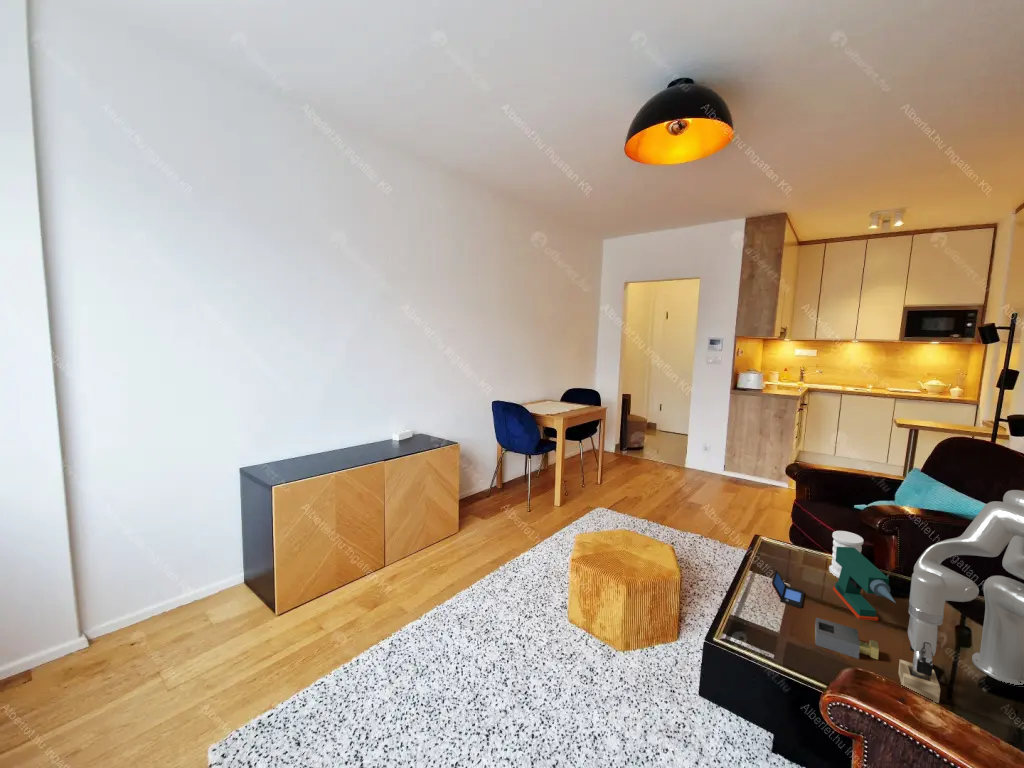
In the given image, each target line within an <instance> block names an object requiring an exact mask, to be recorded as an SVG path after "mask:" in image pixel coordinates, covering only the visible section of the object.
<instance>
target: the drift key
mask: <svg viewBox="0 0 1024 768" xmlns="http://www.w3.org/2000/svg"><path fill="white" fill-rule="evenodd" d="M859 644H860V650H859V654H862V655H866V656H869V658H872V659H875V660H879V655H880V654H879V652H880V651H879V650H880V648H879V643H878V641H877V640H873V639H869V642H868V643H867V642H864V641H860V640H859Z"/></svg>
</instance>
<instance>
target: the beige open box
mask: <svg viewBox="0 0 1024 768" xmlns="http://www.w3.org/2000/svg"><path fill="white" fill-rule="evenodd" d="M912 667H913V662H910V661H907V660H904V659H899V664H898V677H899V681H900V686H901V685H903V686H905V687H907V688H909V689H911V690H913V691H915V692H917V693H919V694H921V695H923V696H925V697H927V698H929V699H931V700H933V701H932V702H934V703H938V704H940V696H941V687H940V682H939V681H938V680H939V679H938V678H937V675H936V672H935V670H934V669H932V675H931V676H928V675H926V680H924V679H921V678H918V677H915V676H912ZM931 700H930V701H931Z"/></svg>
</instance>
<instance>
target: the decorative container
mask: <svg viewBox="0 0 1024 768" xmlns="http://www.w3.org/2000/svg"><path fill="white" fill-rule="evenodd" d="M831 536H832V538H833V540H832V545H833V546H832V554H831V556H832V557H831V558H832V559H831V565H829V567H828V571H829V574H831V573H832V574H833V576H834V577H835V576H836V578H837V579H839V576H840V572H841V569H842V567H841V566H840V565H839V564H838V563H837V562H836V548H837V547H853V548H855V549H856V550H858V551H859V552H860V553H861V554H862V549H863V548H862V545H864V538H863V537H862V536H861V535H859V534H857V533H853V532H850V531H846V530H836V531H833V532H832V535H831ZM832 574H831V575H832Z"/></svg>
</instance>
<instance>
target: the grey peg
mask: <svg viewBox="0 0 1024 768" xmlns="http://www.w3.org/2000/svg"><path fill="white" fill-rule="evenodd" d="M921 650H922V651H925V650H924V649H921ZM923 657H925V654H923V653H922V658H923ZM918 659H919V652H918V651H914V652H913V658H912V663H913V667H912V676H915V677H918V678H921V679H924V680H926V675H925V674H922V673H919V672H917V660H918Z"/></svg>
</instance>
